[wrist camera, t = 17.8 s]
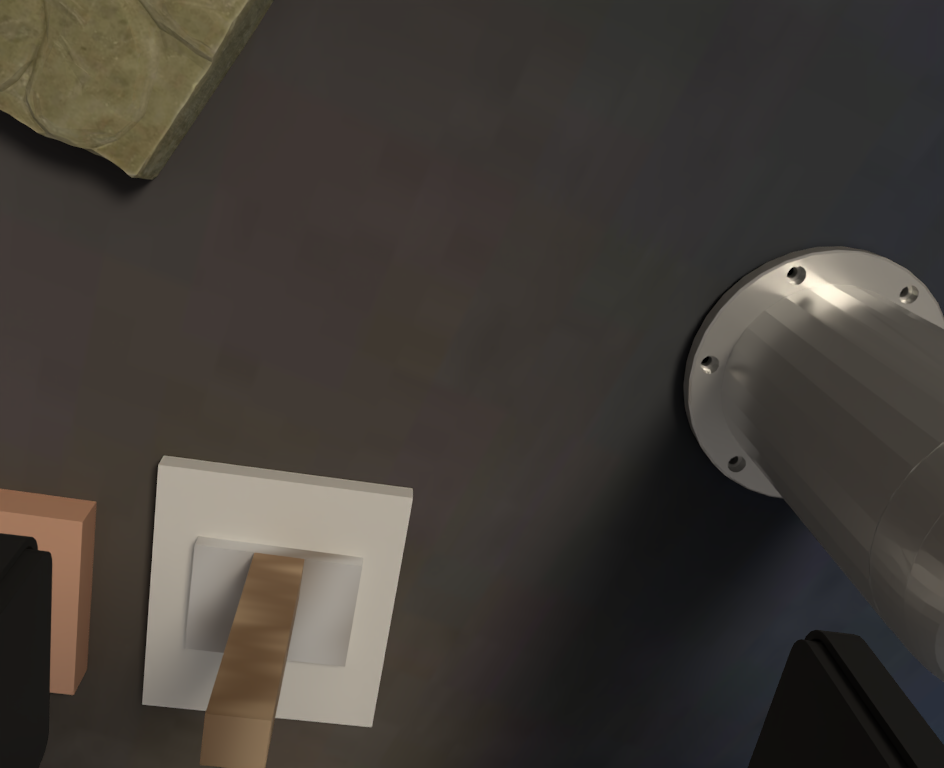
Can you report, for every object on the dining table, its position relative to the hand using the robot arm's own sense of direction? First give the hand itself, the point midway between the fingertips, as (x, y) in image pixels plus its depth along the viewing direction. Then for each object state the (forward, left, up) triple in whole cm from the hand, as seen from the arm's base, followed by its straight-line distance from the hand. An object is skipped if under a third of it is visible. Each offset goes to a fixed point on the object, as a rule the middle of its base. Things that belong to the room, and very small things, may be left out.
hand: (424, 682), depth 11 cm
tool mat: (+4, +20, -30) cm, 37 cm away
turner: (+4, +20, -29) cm, 35 cm away
